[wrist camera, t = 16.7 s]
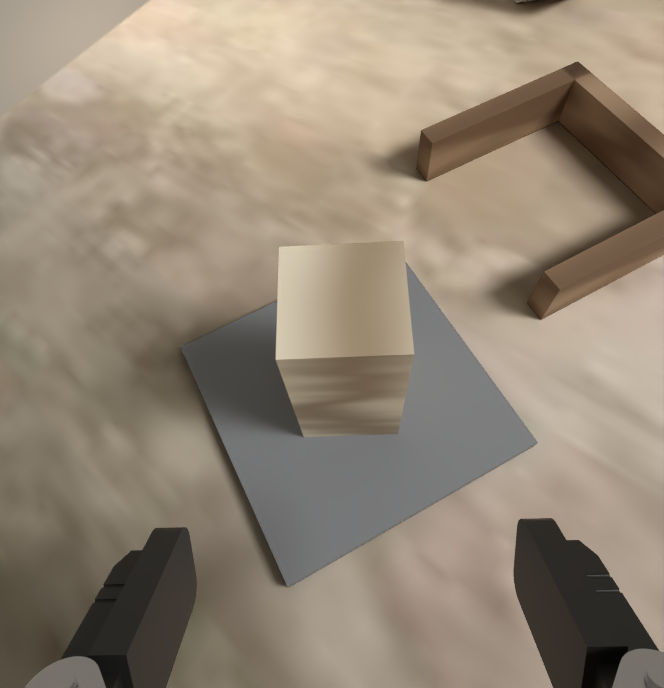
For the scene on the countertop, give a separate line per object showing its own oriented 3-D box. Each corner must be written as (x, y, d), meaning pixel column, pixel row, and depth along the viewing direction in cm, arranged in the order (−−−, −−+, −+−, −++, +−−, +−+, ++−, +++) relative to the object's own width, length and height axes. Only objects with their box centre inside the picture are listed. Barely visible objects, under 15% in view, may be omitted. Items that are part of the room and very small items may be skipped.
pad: (184, 351, 28) (180, 347, 28) (393, 251, 30) (393, 245, 30) (289, 587, 23) (287, 586, 22) (533, 445, 25) (537, 442, 25)
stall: (416, 168, 33) (421, 130, 30) (561, 103, 35) (577, 61, 32) (541, 319, 28) (559, 289, 25) (703, 233, 30) (736, 197, 27)
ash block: (303, 437, 25) (275, 359, 17) (304, 352, 27) (279, 246, 19) (398, 434, 25) (414, 354, 17) (391, 348, 27) (403, 240, 19)
